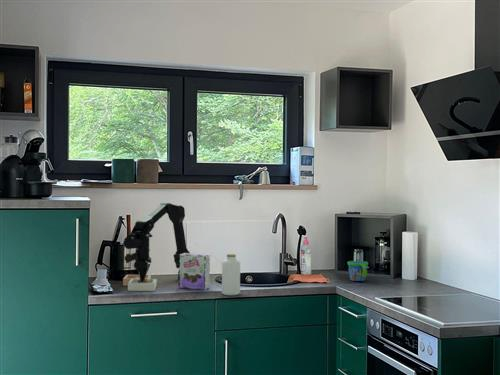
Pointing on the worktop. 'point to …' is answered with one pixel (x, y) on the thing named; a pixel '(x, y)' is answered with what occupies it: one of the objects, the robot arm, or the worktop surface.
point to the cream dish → (142, 285)
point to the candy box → (194, 271)
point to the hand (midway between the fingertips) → (142, 280)
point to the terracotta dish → (129, 277)
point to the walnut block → (143, 281)
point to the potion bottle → (231, 275)
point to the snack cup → (357, 270)
